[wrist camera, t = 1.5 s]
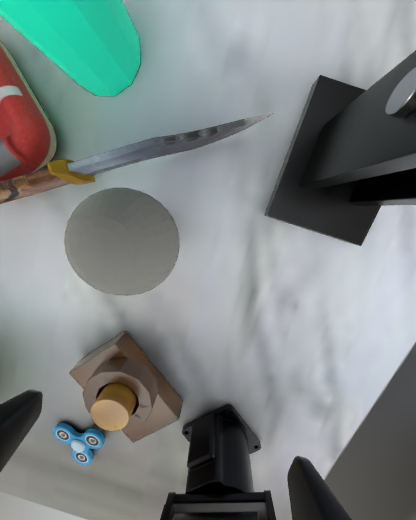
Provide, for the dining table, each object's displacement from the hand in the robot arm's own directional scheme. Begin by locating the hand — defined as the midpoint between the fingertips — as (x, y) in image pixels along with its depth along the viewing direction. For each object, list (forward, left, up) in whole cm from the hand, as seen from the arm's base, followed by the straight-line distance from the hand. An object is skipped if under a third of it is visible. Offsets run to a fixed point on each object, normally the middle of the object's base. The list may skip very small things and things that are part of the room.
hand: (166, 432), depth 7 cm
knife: (+13, 0, -13) cm, 18 cm away
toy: (-8, +23, -12) cm, 27 cm away
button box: (-4, +12, -13) cm, 18 cm away
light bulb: (+7, 0, -13) cm, 15 cm away
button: (-3, +11, -10) cm, 15 cm away
